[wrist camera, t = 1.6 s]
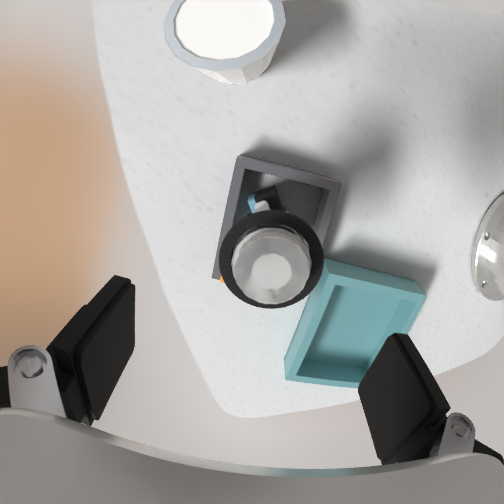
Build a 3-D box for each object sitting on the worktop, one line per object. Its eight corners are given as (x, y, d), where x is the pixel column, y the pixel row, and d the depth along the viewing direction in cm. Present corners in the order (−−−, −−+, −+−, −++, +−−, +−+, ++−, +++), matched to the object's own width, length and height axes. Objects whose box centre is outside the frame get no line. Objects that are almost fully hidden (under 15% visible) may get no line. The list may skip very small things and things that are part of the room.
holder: (335, 179, 22) (342, 184, 19) (301, 287, 25) (304, 300, 23) (239, 155, 21) (236, 156, 19) (215, 267, 25) (210, 279, 23)
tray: (413, 280, 24) (426, 295, 22) (365, 370, 29) (372, 389, 26) (322, 257, 24) (328, 273, 21) (284, 359, 28) (285, 379, 25)
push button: (317, 250, 24) (344, 319, 15) (257, 271, 25) (250, 348, 15) (290, 174, 22) (307, 200, 12) (226, 198, 23) (196, 241, 13)
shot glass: (182, 32, 18) (151, -1, 11) (265, 7, 16) (263, -37, 10) (206, 103, 20) (179, 88, 13) (292, 77, 19) (303, 51, 12)
